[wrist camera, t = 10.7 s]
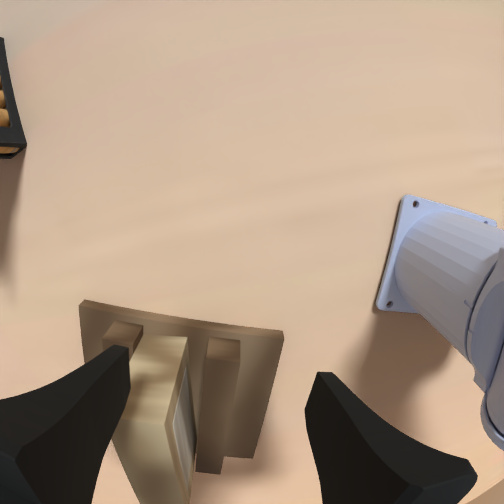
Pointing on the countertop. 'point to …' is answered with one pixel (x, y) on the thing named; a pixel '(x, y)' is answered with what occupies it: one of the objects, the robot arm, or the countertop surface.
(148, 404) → the beige wooden block
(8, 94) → the ammunition clip
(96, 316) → the notched stand
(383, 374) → the countertop surface
